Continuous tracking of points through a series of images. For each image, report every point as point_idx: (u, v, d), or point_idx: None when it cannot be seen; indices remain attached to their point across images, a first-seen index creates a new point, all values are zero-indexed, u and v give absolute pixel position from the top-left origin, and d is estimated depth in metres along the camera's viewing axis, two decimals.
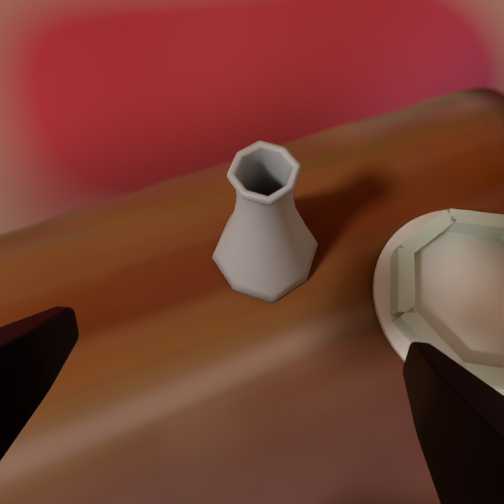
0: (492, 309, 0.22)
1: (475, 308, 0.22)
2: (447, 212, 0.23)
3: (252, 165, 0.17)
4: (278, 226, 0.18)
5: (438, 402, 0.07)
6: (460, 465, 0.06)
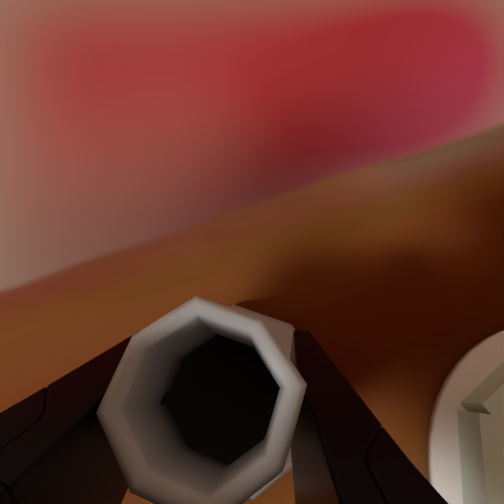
0: None
1: None
2: None
3: (185, 340, 0.07)
4: None
5: None
6: (300, 445, 0.06)
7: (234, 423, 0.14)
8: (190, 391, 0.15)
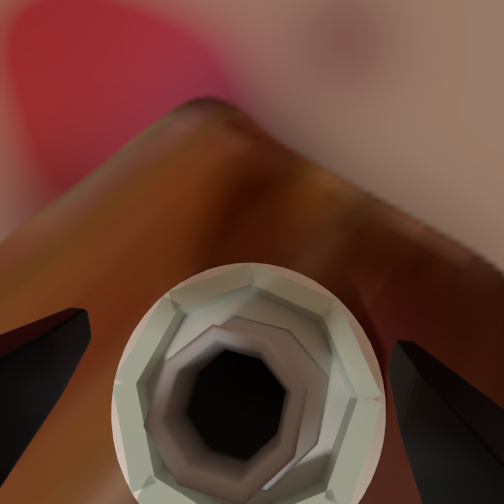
0: None
1: None
2: (166, 298, 0.16)
3: (205, 359, 0.08)
4: None
5: (419, 400, 0.07)
6: (439, 463, 0.06)
7: (245, 424, 0.15)
8: (201, 399, 0.16)
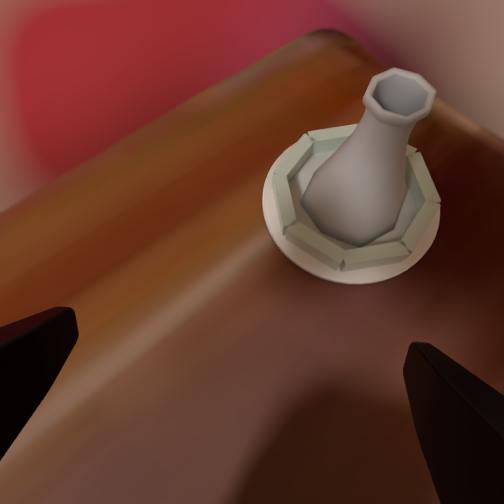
0: None
1: None
2: (306, 135, 0.26)
3: (380, 94, 0.17)
4: (393, 159, 0.18)
5: (438, 402, 0.07)
6: (460, 465, 0.06)
7: None
8: None
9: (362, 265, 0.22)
